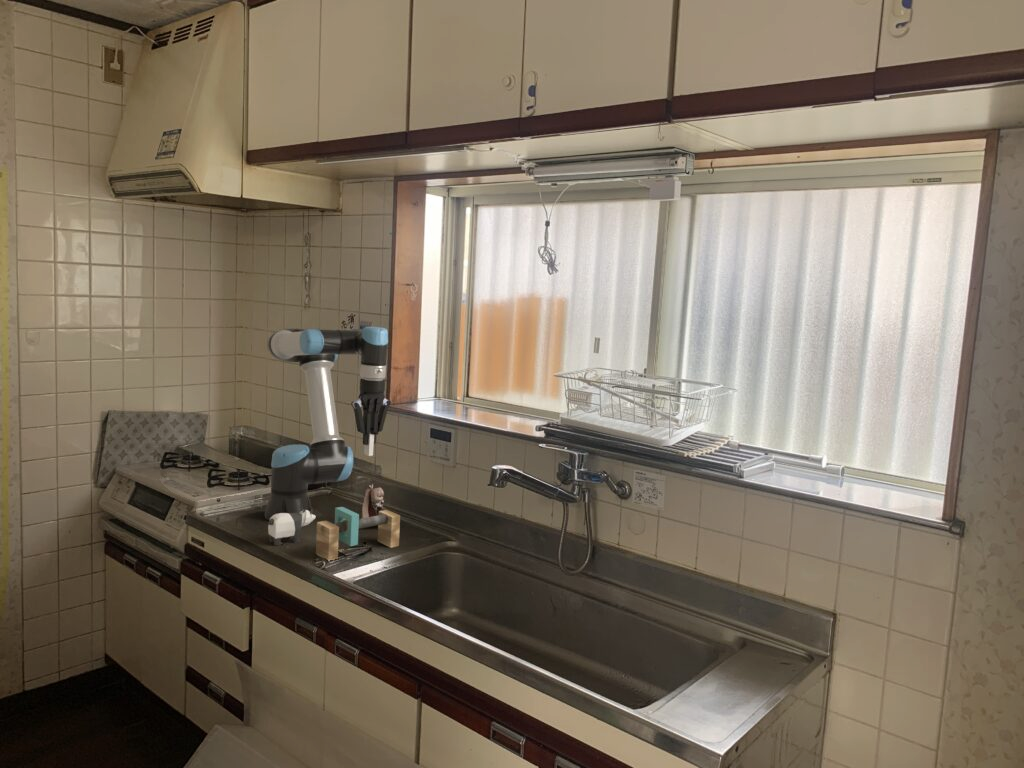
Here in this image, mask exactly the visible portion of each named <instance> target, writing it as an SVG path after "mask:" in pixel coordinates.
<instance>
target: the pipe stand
mask: <svg viewBox="0 0 1024 768" xmlns="http://www.w3.org/2000/svg"><path fill="white" fill-rule="evenodd" d="M400 523H401V514H398V513H396V512H394V511H392V510H391V511H390V510H389V509H387V510H383V511H379V515H378V516H372V517H367V518H362V517H361V518H359V528H358V530H359V529H365V528H370V527H375V526H377V542H378V543H380V544H382V545H385V546H386V547H388V548H396V547H399V546H400V533H401V532H400V529H401V528H400V527H401V526H400V525H401V524H400ZM347 527H348V521H347V520H344V521H342V522H340V523H335V522H334V523H333V522H330V521H328V520H321V521H317V522H316V535H315V536H316V539H315V541H316V542H315V555H316V554H317V555H316V556H318V555H319V556H318V557H320V558H322V557H323V558H326V559H327V560H328V561H327V560H326V561H327V562H331V561H330V560H333V561H336V560H335V559H337V560H339V552H338V551H342V550H344V549H345V548H341V549H339V541H340V540H339V532H344V533H346V532H347ZM323 558H322V559H323Z"/></svg>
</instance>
